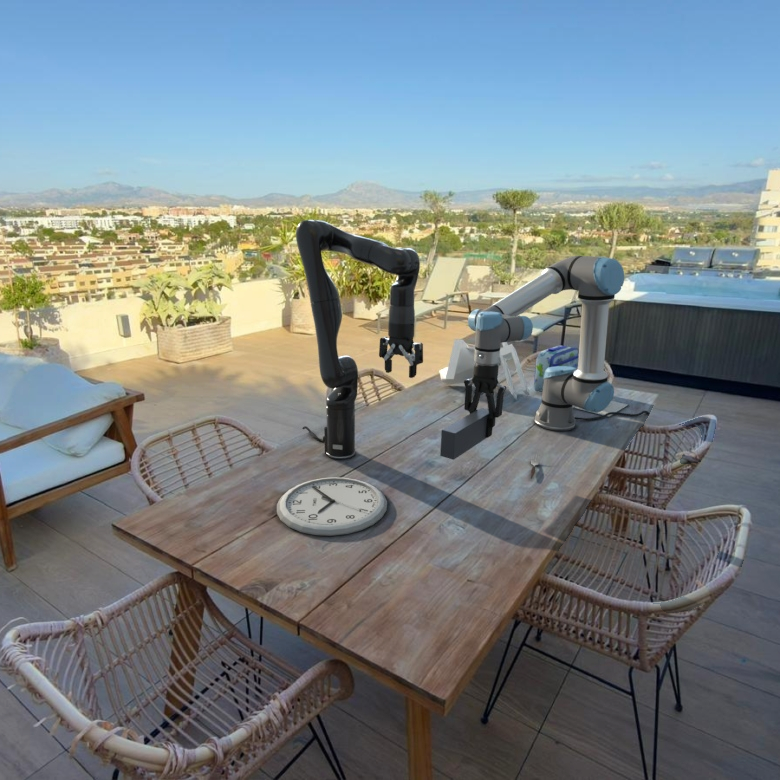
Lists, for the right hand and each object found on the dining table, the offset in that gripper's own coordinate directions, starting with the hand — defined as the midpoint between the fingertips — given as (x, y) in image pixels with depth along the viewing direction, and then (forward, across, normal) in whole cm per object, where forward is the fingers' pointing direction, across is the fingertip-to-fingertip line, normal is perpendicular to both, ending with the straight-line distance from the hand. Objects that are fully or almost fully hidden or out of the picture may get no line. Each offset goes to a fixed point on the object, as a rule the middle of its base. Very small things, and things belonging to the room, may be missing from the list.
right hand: (481, 434), depth 166 cm
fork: (+10, +16, +7) cm, 20 cm away
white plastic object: (+11, -36, +70) cm, 79 cm away
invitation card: (+11, +15, +85) cm, 87 cm away
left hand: (-21, -18, -20) cm, 34 cm away
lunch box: (+11, -10, +95) cm, 96 cm away
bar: (+1, 0, -9) cm, 9 cm away
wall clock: (+10, -19, -49) cm, 53 cm away
